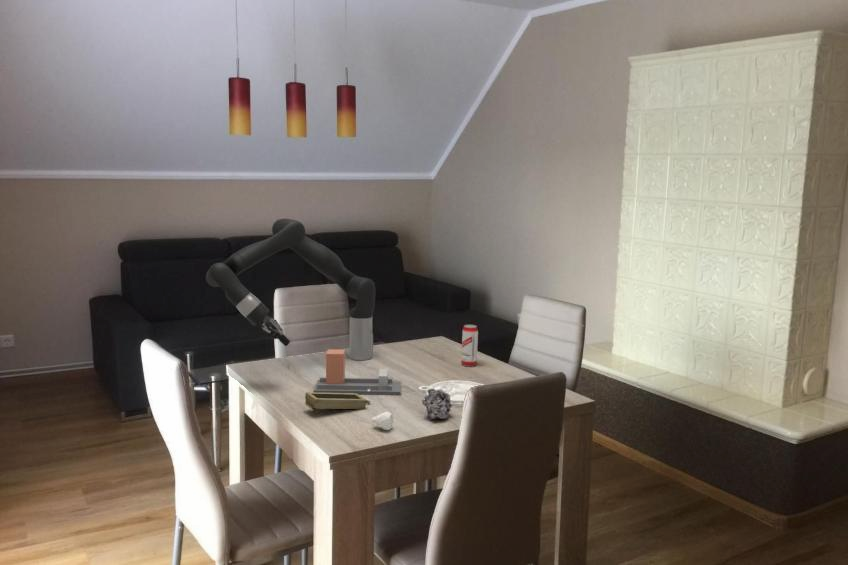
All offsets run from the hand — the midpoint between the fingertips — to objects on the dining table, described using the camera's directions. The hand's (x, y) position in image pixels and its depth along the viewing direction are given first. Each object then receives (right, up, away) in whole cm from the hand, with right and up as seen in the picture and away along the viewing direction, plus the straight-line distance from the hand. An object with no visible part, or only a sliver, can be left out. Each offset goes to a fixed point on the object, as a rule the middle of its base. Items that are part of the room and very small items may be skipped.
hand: (288, 343), depth 252 cm
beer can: (+65, -12, +38) cm, 76 cm away
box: (+20, -20, -17) cm, 33 cm away
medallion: (+58, -18, 0) cm, 61 cm away
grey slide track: (+24, -16, +3) cm, 29 cm away
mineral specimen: (+51, -21, -21) cm, 60 cm away
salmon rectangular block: (+16, -15, +3) cm, 22 cm away
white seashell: (+35, -23, -34) cm, 53 cm away
